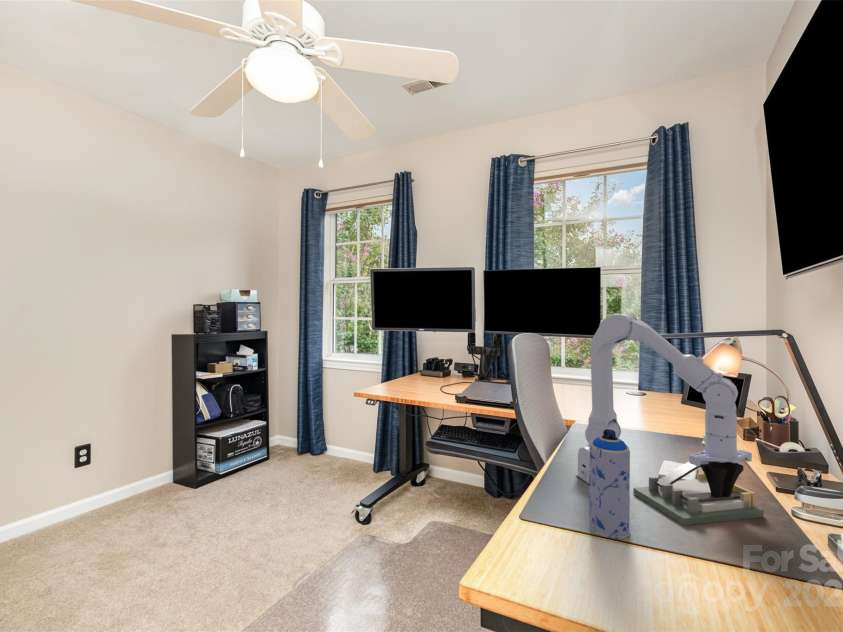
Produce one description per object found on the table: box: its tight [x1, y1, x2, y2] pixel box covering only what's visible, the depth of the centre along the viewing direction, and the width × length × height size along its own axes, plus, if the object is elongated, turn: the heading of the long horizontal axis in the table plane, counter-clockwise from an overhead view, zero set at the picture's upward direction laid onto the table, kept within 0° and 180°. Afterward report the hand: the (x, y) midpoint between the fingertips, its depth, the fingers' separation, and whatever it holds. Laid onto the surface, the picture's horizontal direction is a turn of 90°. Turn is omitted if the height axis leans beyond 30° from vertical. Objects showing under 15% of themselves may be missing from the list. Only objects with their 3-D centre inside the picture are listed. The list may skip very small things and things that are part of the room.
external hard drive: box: [657, 460, 698, 481], centre depth 112 cm, size 2×8×12 cm
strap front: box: [680, 491, 740, 502], centre depth 91 cm, size 14×3×1 cm, turn 101°
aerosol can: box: [587, 429, 631, 540], centre depth 83 cm, size 8×8×20 cm
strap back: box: [656, 461, 701, 487], centre depth 97 cm, size 14×3×1 cm, turn 100°
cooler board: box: [632, 472, 765, 527], centre depth 94 cm, size 20×15×4 cm
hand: (720, 494), depth 91 cm, fingers closed on strap front, 2 cm apart
